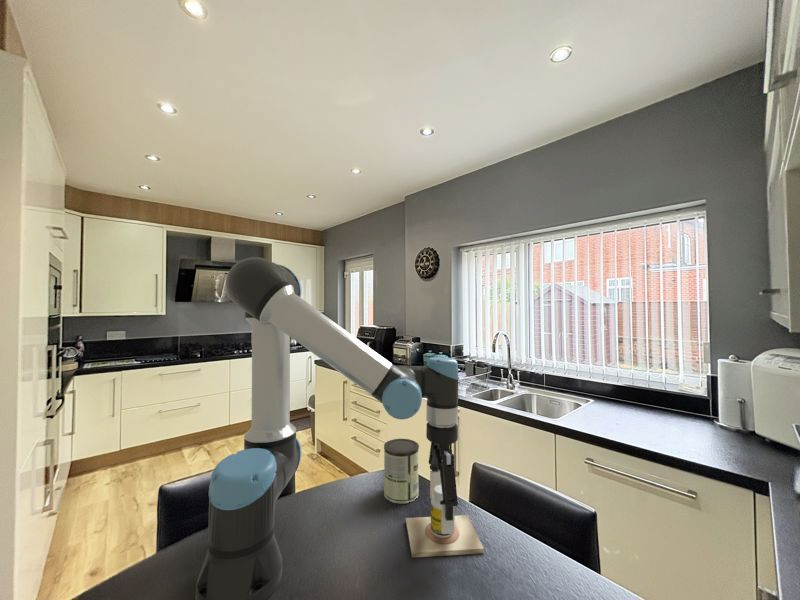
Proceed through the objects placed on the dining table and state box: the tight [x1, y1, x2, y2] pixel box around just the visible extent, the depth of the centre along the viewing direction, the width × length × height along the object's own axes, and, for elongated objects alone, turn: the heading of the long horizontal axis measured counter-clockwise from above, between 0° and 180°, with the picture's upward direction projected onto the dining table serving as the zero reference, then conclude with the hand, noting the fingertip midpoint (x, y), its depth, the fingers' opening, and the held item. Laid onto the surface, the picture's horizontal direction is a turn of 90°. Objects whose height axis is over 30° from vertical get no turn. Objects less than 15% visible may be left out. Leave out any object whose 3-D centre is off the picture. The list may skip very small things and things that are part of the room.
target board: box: [405, 514, 485, 558], centre depth 77 cm, size 16×12×1 cm
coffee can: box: [383, 438, 420, 505], centre depth 95 cm, size 10×10×14 cm
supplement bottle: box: [430, 485, 452, 538], centre depth 77 cm, size 5×5×10 cm
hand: (441, 513), depth 77 cm, fingers open, 13 cm apart
